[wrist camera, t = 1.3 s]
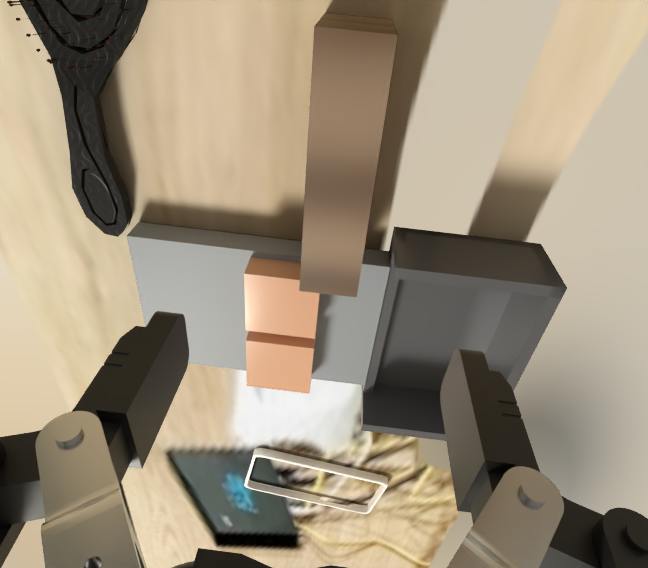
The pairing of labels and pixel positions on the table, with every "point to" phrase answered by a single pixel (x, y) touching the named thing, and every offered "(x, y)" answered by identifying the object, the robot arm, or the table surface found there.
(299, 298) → the tile
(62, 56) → the hairbrush
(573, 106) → the table surface
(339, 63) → the brown wooden block
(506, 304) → the tray
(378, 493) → the phone case
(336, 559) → the table surface
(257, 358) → the tile
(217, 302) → the board
